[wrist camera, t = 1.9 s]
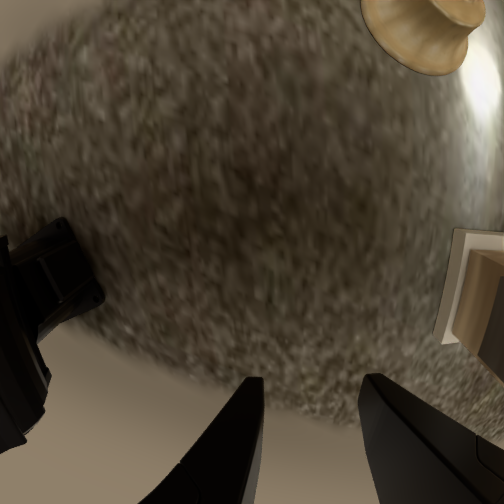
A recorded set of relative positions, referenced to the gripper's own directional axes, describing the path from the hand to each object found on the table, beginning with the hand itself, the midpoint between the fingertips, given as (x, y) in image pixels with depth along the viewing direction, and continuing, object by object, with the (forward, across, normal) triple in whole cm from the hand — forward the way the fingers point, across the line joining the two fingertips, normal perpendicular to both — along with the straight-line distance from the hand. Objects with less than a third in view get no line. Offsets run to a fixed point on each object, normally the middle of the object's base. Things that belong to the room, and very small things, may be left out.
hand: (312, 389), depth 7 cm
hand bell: (+12, -9, -16) cm, 22 cm away
